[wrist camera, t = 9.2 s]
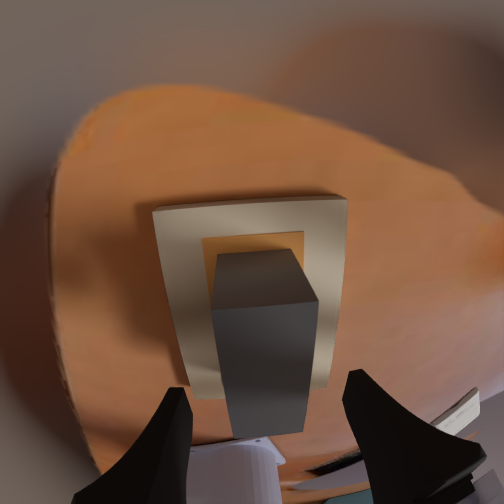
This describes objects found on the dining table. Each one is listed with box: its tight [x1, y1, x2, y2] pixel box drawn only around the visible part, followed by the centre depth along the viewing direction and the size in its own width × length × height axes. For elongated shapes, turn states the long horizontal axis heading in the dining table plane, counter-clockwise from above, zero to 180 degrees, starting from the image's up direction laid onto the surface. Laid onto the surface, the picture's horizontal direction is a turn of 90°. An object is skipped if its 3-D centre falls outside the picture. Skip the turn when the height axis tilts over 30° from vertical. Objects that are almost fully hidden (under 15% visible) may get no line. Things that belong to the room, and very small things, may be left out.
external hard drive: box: [433, 387, 480, 436], centre depth 28 cm, size 2×8×12 cm
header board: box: [152, 195, 348, 399], centre depth 15 cm, size 14×10×4 cm
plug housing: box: [211, 249, 319, 439], centre depth 14 cm, size 9×4×5 cm, turn 3°
